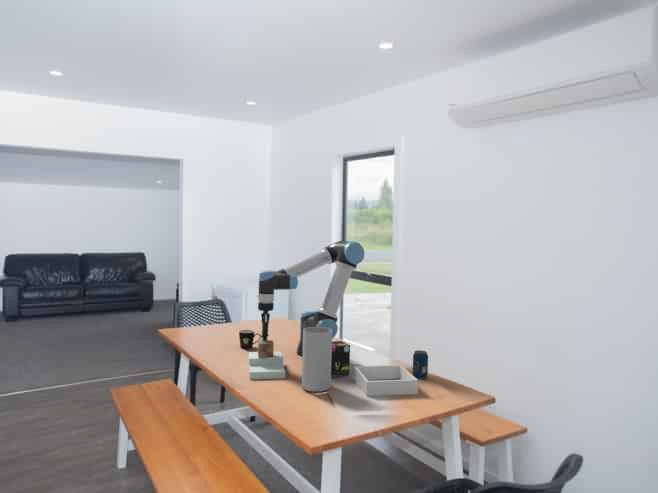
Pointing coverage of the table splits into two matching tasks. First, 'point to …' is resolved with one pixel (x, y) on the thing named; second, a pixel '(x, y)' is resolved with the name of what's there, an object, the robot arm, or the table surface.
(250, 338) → the coffee mug
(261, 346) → the cube
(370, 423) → the table surface
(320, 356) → the cylinder vase
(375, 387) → the tray
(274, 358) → the steps
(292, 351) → the table surface
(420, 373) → the soda can
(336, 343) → the tampon box
